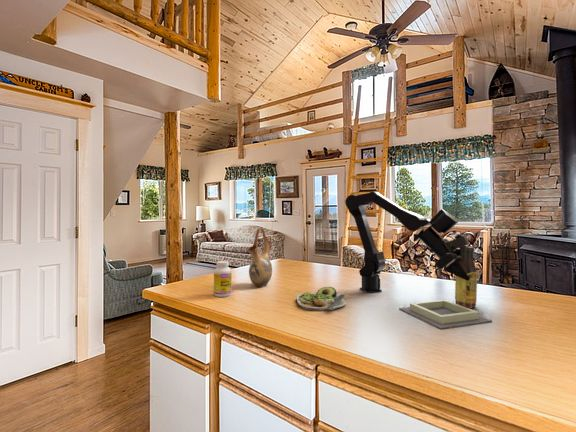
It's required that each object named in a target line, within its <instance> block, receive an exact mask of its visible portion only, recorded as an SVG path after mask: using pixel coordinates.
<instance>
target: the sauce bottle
mask: <svg viewBox="0 0 576 432" xmlns="http://www.w3.org/2000/svg"><path fill="white" fill-rule="evenodd" d="M459 248H460V261H459V264H460V266H461V267H462V268H463V270H464V271H465V272H466V273H467V275H468V276H469V278H470V279H469V280H468V281H467V280H465V279H462V278H460V277H458V276H456V275H455V282H454V285H455V286H454V287H455V288H454V290H455V291H454V300H455V301H454V303H455V304H458V305H461V306H463V307H466V308H469V309H474V308H475V307H476V305H477V300H478V299H477V295H478V293H477V292H478V291H477V290H478V286H477V285H478V270H477V267H476V265H475V262H474V251H475V247H474V246H469V245H468V246H467V245H466V246H461V247H459Z"/></svg>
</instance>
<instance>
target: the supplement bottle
mask: <svg viewBox="0 0 576 432" xmlns="http://www.w3.org/2000/svg"><path fill="white" fill-rule="evenodd" d="M229 265H230V262H229V261H228V260H219V261H216V268H215V269H214V270H213V295H214V297H217V298H224V297H225V298H226V297H230V296H231V295H232V291H233V290H232V288H233V287H232V269H231V268H230V267H229Z"/></svg>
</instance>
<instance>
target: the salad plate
mask: <svg viewBox="0 0 576 432" xmlns="http://www.w3.org/2000/svg"><path fill="white" fill-rule="evenodd" d="M345 295H346V294H343V293H341V294H338V293H337V290H336V288H335V287H333V286H323V287H321V288H319V289H318V290H317V291H316V293H311V292H309V293H308V292H306V293H300V294H299V295H298V294H297V296H296V297H295V300H296V302H297V304H298V305H299V306H300V307H301V308H303V309H304V310H307V311H308V310H309V311H333V310H337V308H338V309H340V308H342V307H344V306H345V307H346V304H347V302H346V301H345V299H344V298H345ZM305 304H306V305H305ZM309 305H314V306H309Z"/></svg>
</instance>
